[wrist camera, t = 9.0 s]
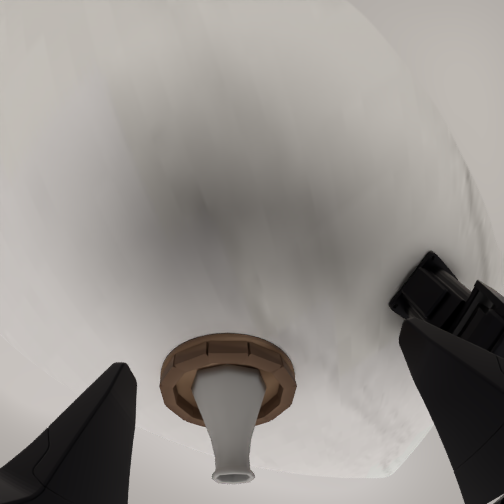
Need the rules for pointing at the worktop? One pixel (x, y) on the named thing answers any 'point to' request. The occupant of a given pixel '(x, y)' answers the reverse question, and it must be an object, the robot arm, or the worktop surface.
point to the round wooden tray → (220, 353)
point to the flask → (230, 416)
